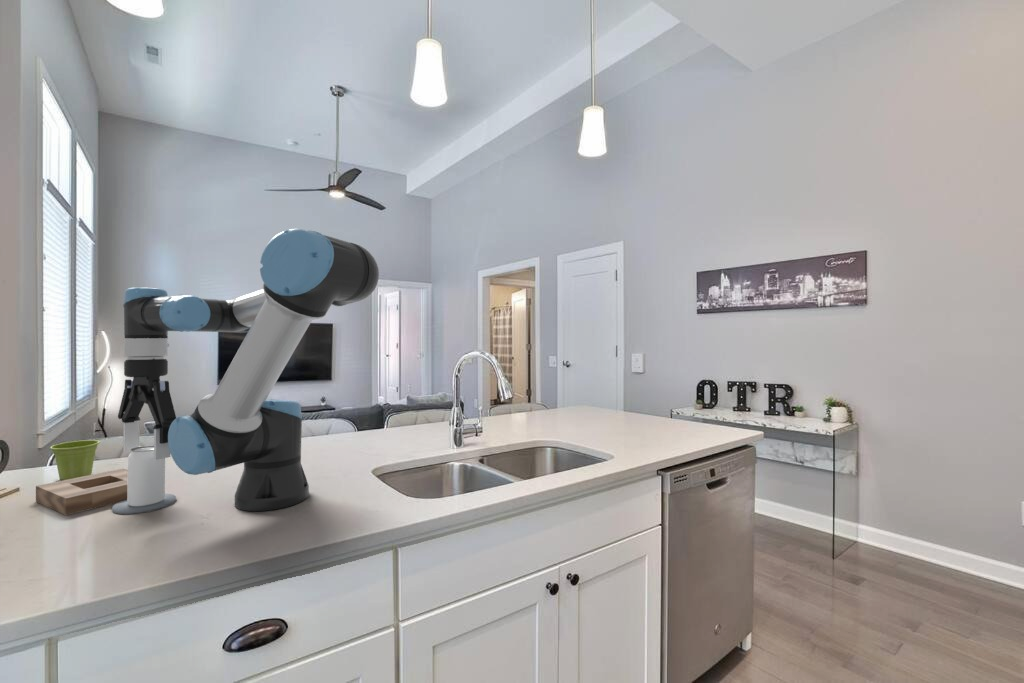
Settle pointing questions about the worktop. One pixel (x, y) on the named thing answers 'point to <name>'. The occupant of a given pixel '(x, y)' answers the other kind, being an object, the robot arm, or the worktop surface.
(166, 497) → the slate mat
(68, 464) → the plant pot
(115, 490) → the pocket block
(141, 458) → the can
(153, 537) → the worktop surface
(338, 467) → the worktop surface
